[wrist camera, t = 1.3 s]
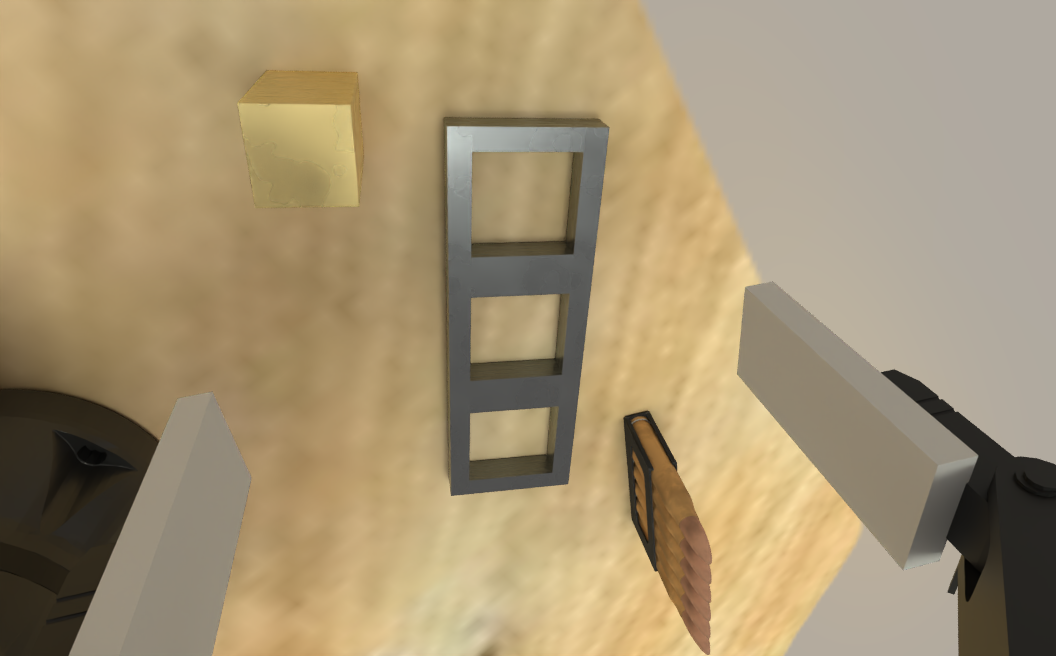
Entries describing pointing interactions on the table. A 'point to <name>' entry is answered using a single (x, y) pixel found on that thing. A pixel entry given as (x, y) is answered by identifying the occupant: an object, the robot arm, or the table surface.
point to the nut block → (303, 139)
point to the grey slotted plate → (518, 275)
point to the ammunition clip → (669, 525)
